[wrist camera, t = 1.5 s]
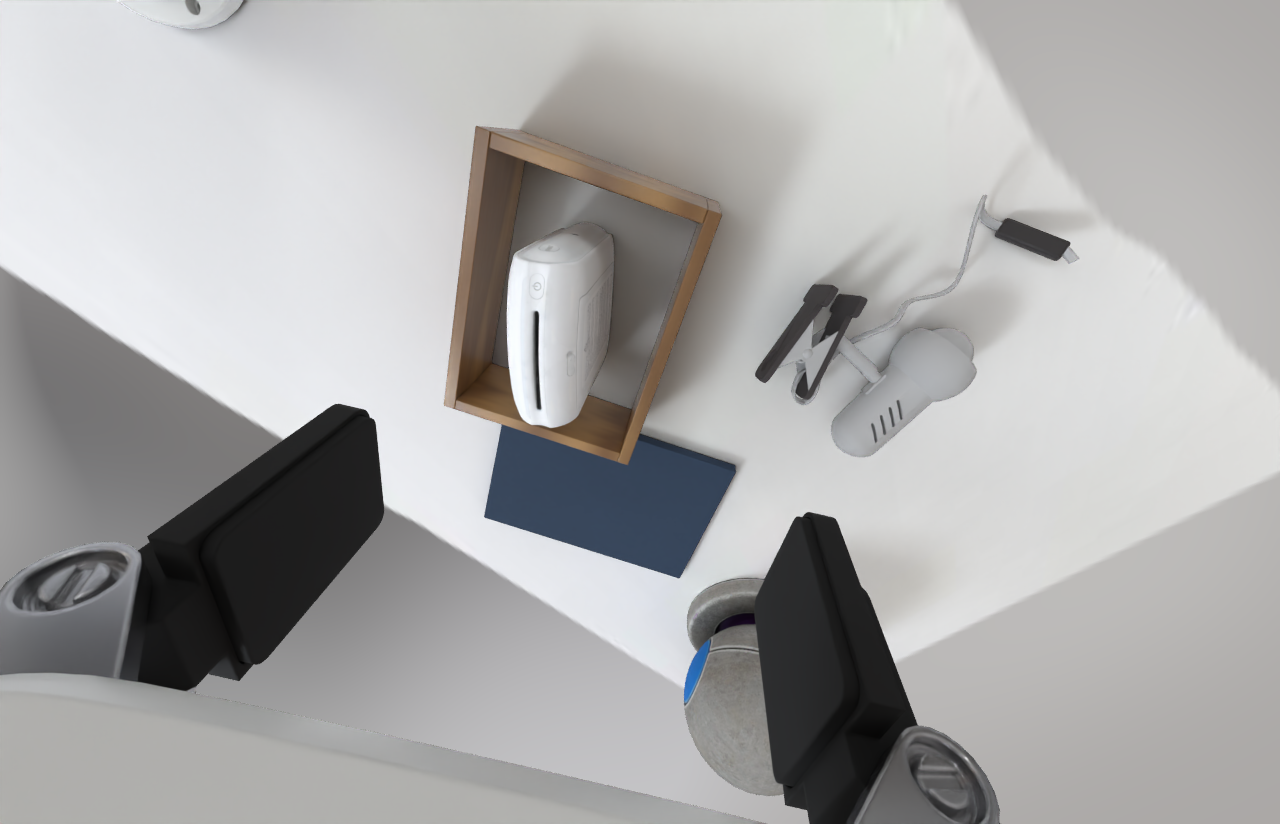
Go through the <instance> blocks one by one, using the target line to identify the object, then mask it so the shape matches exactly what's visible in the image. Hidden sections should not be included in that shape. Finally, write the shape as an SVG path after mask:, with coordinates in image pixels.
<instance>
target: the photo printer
mask: <svg viewBox="0 0 1280 824" xmlns="http://www.w3.org/2000/svg"><path fill="white" fill-rule="evenodd" d="M613 275H614V244H613V237H612V234H607V233H606V231H605V230H603V229H602V228H601V227H599V226H597V225H595V224H592V223H586V222H584V223H578V224H575V225H573V226H571V227H569V228H567V229H565V228H562V229H559V230H557V231H554V232H553V233H551V234H549V235H547V236H545V237H543V238H541V239H539V240H538V241H536V242H534V243H532V244H530V245H528V246H526V247H525V248H523V249H521V250H519V251H517V252H516V253H515V254H514V257H513V260H512V264H511V268H510V274H509V282H508V294H507V346H508V361H509V371H510V380H511V386H512V392H513V397H514V400H515V404H516V406H517V409H518V411H519V414H520V416H521V417H522V419H523V420H524V421H526V422H527V423H529V424H531V425H543V426H546V427H549V428H554V427H559V426H562V425H565V424H568V423H570V422H571V421H573V420H574V419H575V418H576V417H577V416H578V415H579V413H580V411H581V408H582V406H583V404H584V402H585V400H586V398H587V396H588V393H589V391H590V389H591V387H592V385H593V383H594V381H595V379H596V376H597V374H598V372H599V370H600V368H601V366H602V364H603V362H604V359H605V356H606V353H607V349H608V342H609V333H610V322H611V310H612V293H613Z"/></svg>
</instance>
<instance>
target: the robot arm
mask: <svg viewBox="0 0 1280 824" xmlns="http://www.w3.org/2000/svg"><path fill="white" fill-rule="evenodd" d="M116 1H118V2H119V3H121V4H122V5H124V6H125V7H126V8H128V9H129V10H131V11H132V12H134V13H137V14H139V15H141V16H143V17H145V18H147V19H150V20H152V21H154V22H158V23H162V24H166V25H170V26H174V27H179V28H187V29H201V28H208V27H212V26H215V25H217V24H219V23H221V22H223V21H225V20H227V19H228V18H229V17H230V16H231V15H232V14H233V13H234V12H235V11H236V10H237V9H239V7H240V5H241V4H242V2H243V0H116ZM383 514H384V504H383V493H382V483H381V473H380V463H379V453H378V442H377V432H376V424H375V421H374V419H372V418H370V417H369V414H368V412H367V411H366V410H364V409H359V408H355V407H351V406H346V405H342V404H335V405H333V406H331V407H329V408H328V409H327V410H325V411H324V412H322V413H321V414H320V415H318V416H317V417H315V418H314V419H313V420H311V421H310V422H308V423H307V424H305V425H304V426H303V427H301V428H300V429H298V430H297V431H296V432H294V433H293V434H291V435H290V436H289V437H287V438H286V439H284V440H283V441H282V442H280V443H279V444H277V445H276V446H274V447H273V448H272V449H270V450H269V451H267V452H266V453H265V454H263V455H262V456H261V457H259V458H258V459H256V460H255V461H253V462H252V463H250V464H249V465H248V466H246V467H245V468H243V469H242V470H241V471H239V472H238V473H236V474H235V475H233V476H232V477H231V478H229V479H228V480H227V481H225V482H224V483H222V484H221V485H219V486H218V487H217V488H215V489H214V490H212V491H211V492H210V493H208V494H207V495H205V496H204V497H202V498H201V499H200V500H198V501H197V502H195V503H194V504H193V505H191V506H190V507H188V508H187V509H185V510H184V511H183V512H181V513H180V514H178V515H177V516H176V517H174V518H173V519H171V520H170V521H169V522H167V523H166V524H164V525H163V526H161V527H160V528H159V529H157V530H156V531H155V532H153V533H152V534H150V535H149V536H147V537H148V539H149V543H148V544H147V545H145V546H144V547H142V548H141V549H140V550H138V551H137V550H136V549H135V548H134V547H133V546H130V545H127V544H124V543H120V542H98V543H91V544H84V545H80V546H76V547H73V548H69V549H65V550H62V551H59V552H57V553H54V554H52V555H50V556H47V557H45V558H42V559H40V560H38V561H37V562H35V563H33V564H31V565H30V566H28V567H26V568H24V569H23V570H21V571H20V572H18V573H17V574H16V575H15V576H14V577H12V578H11V579H10V580H9V581H7V582H6V583H5V585H4V586H3V587H2V589H1V590H0V824H766V823H762V822H758V821H753V820H750V819H746V818H742V817H738V816H734V815H730V814H726V813H722V812H718V811H714V810H710V809H706V808H702V807H698V806H694V805H689V804H686V803H681V802H677V801H673V800H668V799H663V798H660V797H655V796H651V795H647V794H643V793H638V792H634V791H630V790H625V789H621V788H617V787H613V786H608V785H604V784H599V783H595V782H591V781H587V780H582V779H578V778H574V777H569V776H565V775H561V774H557V773H552V772H547V771H543V770H539V769H535V768H530V767H526V766H522V765H517V764H513V763H508V762H504V761H500V760H495V759H491V758H486V757H482V756H478V755H473V754H468V753H464V752H460V751H455V750H451V749H446V748H442V747H438V746H434V745H429V744H425V743H420V742H415V741H411V740H407V739H403V738H398V737H394V736H389V735H385V734H381V733H376V732H371V731H367V730H362V729H357V728H353V727H349V726H344V725H340V724H335V723H331V722H326V721H322V720H317V719H313V718H308V717H303V716H299V715H295V714H290V713H286V712H281V711H277V710H272V709H268V708H263V707H259V706H254V705H249V704H245V703H240V702H236V701H230V700H226V699H221V698H216V697H211V696H206V695H201V694H196V686H197V685H198V684H199V683H200V682H201V680H203V678H204V677H205V676H206V675H207V674H208V673H209V674H211V675H215V676H220V677H223V678H228V679H233V680H237V681H240V679H241V678H242V677H243V676H244V675H245V674H246V672H247V671H248V670H249V669H250V668H251V667H252V665H253V664H260V663H262V662H263V661H264V660H266V659H267V658H268V657H269V655H270V654H271V653H272V652H273V651H274V650H275V648H276V647H277V646H278V645H279V644H280V642H281V641H282V640H283V639H284V638H285V636H286V635H287V634H288V633H289V632H290V631H291V629H292V628H293V627H294V626H295V625H296V623H297V622H298V621H299V620H300V619H301V618H302V616H303V615H304V614H305V613H306V612H307V610H308V609H309V608H310V607H311V606H312V604H313V603H314V602H315V601H316V600H317V599H318V597H319V596H320V595H321V594H322V593H323V591H324V590H325V589H326V588H327V587H328V586H329V584H330V583H331V582H332V581H333V579H334V578H335V577H336V576H337V575H338V574H339V572H340V571H341V570H342V569H343V568H344V567H345V565H346V564H347V563H348V562H349V561H350V559H351V558H352V557H353V556H354V555H355V553H356V552H357V551H358V550H359V549H360V548H361V546H362V545H363V544H364V543H365V541H366V540H367V539H368V538H369V537H370V536H371V534H372V533H373V532H374V531H375V530H376V529H377V527H378V526H379V524H380V523H381V521H382V518H383ZM754 615H755V624H756V632H757V641H758V649H759V658H760V666H761V675H762V683H763V692H764V700H765V709H766V717H767V726H768V734H769V743H770V751H771V760H772V768H773V774H774V778H775V781H776V782H777V783H779V784H783V791H784V798H785V805H787V806H792V807H796V808H800V809H804V810H807V811H808V817H809V823H810V824H1000V823H999V814H1000V813H999V811H1000V809H999V805H998V802H997V799H996V795H995V792H994V790H993V788H992V786H991V784H990V782H989V780H988V778H987V776H986V774H985V773H984V772H983V770H982V769H981V768H980V767H979V765H978V764H977V763H976V761H975V760H974V758H973V757H972V756H971V755H970V754H969V753H968V752H966V751H965V750H964V749H963V748H962V747H961V746H960V745H959V744H958V743H957V742H955V741H953V740H952V739H951V738H950V737H948V736H947V735H945V734H944V733H941V732H939V731H937V730H934V729H932V728H930V727H924V726H918V725H917V722H916V719H915V717H914V714H913V712H912V709H911V706H910V703H909V701H908V698H907V695H906V693H905V690H904V688H903V685H902V682H901V679H900V677H899V674H898V672H897V669H896V666H895V664H894V661H893V658H892V656H891V653H890V650H889V648H888V645H887V642H886V640H885V637H884V634H883V632H882V629H881V626H880V624H879V621H878V618H877V616H876V613H875V611H874V608H873V605H872V603H871V600H870V598H869V596H868V594H867V592H866V591H865V590H864V589H863V588H862V587H861V585H860V582H859V580H858V577H857V574H856V571H855V569H854V566H853V563H852V560H851V558H850V555H849V552H848V550H847V547H846V544H845V541H844V539H843V536H842V533H841V531H840V528H839V525H838V523H837V521H836V519H835V518H833V517H828V516H824V515H820V514H815V513H811V512H807V513H806V514H804V516H803V517H796V518H795V519H794V521H793V523H792V525H791V527H790V529H789V531H788V533H787V535H786V537H785V539H784V541H783V543H782V545H781V547H780V549H779V551H778V553H777V555H776V557H775V559H774V561H773V563H772V565H771V567H770V570H769V572H768V574H767V576H766V578H765V580H764V582H763V584H762V586H761V588H760V590H759V592H758V594H757V596H756V599H755V605H754Z"/></svg>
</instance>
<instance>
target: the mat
mask: <svg viewBox="0 0 1280 824" xmlns="http://www.w3.org/2000/svg"><path fill="white" fill-rule="evenodd" d="M735 473H736V468H735V465H732V464H729V463H726V462H723V461H720V460H717V459H714V458H711V457H708V456H705V455H702V454H699V453H696V452H693V451H690V450H687V449H684V448H681V447H678V446H675V445H672V444H669V443H666V442H663V441H659V440H656V439H653V438H650V437H647V436H644V435H641V434H639V437H638V440H637V442H636V445H635V448H634V450H633V453H632V456H631V458H630V461H629V463H628V465H626V464H622V463H619V462H618V461H613V460H610V459H607V458H604V457H601V456H598V455H595V454H592V453H589V452H586V451H583V450H579V449H576V448H573V447H570V446H567V445H564V444H561V443H558V442H555V441H552V440H549V439H546V438H542V437H539V436H536V435H533V434H530V433H527V432H524V431H521V430H518V429H515V428H512V427H509V426H506V425H502V427H501V432H500V437H499V443H498V448H497V453H496V458H495V463H494V469H493V474H492V479H491V484H490V489H489V494H488V500H487V505H486V510H485V515H484V517H485V518H488V519H491V520H494V521H498V522H501V523H504V524H507V525H510V526H514V527H517V528H520V529H523V530H526V531H530V532H533V533H536V534H539V535H542V536H546V537H549V538H552V539H555V540H558V541H562V542H565V543H568V544H571V545H574V546H577V547H581V548H584V549H587V550H590V551H593V552H597V553H600V554H603V555H606V556H609V557H613V558H616V559H619V560H622V561H625V562H629V563H632V564H635V565H638V566H641V567H645V568H648V569H651V570H654V571H657V572H661V573H664V574H667V575H670V576H673V577H677V578H680V577H681V575H682V573H683V571H684V569H685V567H686V565H687V563H688V561H689V560H690V558H691V556H692V554H693V552H694V550H695V548H696V546H697V544H698V543H699V541H700V539H701V537H702V535H703V533H704V531H705V529H706V528H707V526H708V524H709V522H710V520H711V518H712V516H713V514H714V512H715V511H716V509H717V507H718V505H719V503H720V501H721V499H722V497H723V495H724V494H725V492H726V490H727V488H728V486H729V484H730V482H731V480H732V478H733V477H734V475H735Z"/></svg>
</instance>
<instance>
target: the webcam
mask: <svg viewBox="0 0 1280 824" xmlns="http://www.w3.org/2000/svg"><path fill="white" fill-rule="evenodd" d="M763 582H764V580H761V579H736V580H730V581H725V582H722V583H718V584H716V585H714V586H712V587H710V588H708V589H706V590H705V591H703V592H702V593H700V594H699V595H698V596H697V597H696V598H695V599H694V601H693V602H692V604H691V606H690V607H689V611H688V615H687V630H688V636H689V639H690V641H691V643H692V645H693V647H694V648H695V649H696V651H697V654H696V655H695V657H694V659H693V661H692V663H691V665H690V667H689V670H688V673H687V677H686V682H685V689H684V707H685V715H686V720H687V724H688V727H689V730H690V734H691V736H692V738H693V740H694V743H695V745H696V747H697V749H698V750H699V752H700V754H701V756H702V757H703V758H704V760H705V761H706V762H707V763H708V765H709V766H710V767H711V768H712V769H713V770H714V771H715V772H716V773H717V774H718V775H719V776H720V777H722V778H723V779H724V780H725V781H727V782H728V783H730V784H731V785H733V786H735V787H737V788H739V789H741V790H743V791H745V792H748V793H752V794H756V795H764V796H775V795H782V794H784V791H783V784H779V783H777V782H776V781H775V778H774V774H773V768H772V760H771V751H770V743H769V734H768V726H767V717H766V709H765V700H764V692H763V683H762V675H761V666H760V658H759V649H758V641H757V632H756V624H755V615H754V605H755V599H756V596H757V594H758V592H759V590H760V588H761V586H762V584H763Z"/></svg>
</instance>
